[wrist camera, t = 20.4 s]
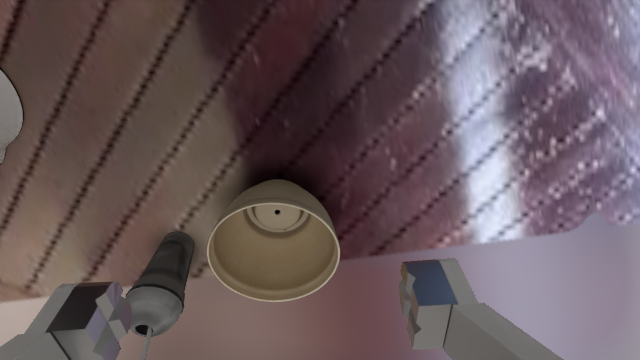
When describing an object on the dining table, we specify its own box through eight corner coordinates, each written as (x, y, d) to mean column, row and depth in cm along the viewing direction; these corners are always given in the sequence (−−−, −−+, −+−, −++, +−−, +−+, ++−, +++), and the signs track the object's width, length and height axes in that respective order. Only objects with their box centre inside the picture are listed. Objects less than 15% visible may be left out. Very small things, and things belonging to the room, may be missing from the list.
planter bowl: (356, 202, 56) (367, 254, 46) (282, 261, 61) (279, 318, 52) (273, 134, 49) (267, 178, 40) (199, 207, 55) (179, 260, 46)
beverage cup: (162, 217, 56) (102, 339, 39) (210, 235, 58) (172, 357, 41) (148, 250, 59) (87, 375, 42) (194, 266, 61) (153, 390, 44)
